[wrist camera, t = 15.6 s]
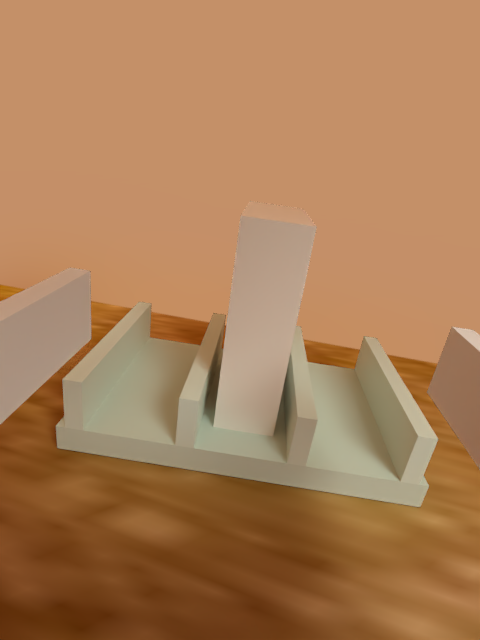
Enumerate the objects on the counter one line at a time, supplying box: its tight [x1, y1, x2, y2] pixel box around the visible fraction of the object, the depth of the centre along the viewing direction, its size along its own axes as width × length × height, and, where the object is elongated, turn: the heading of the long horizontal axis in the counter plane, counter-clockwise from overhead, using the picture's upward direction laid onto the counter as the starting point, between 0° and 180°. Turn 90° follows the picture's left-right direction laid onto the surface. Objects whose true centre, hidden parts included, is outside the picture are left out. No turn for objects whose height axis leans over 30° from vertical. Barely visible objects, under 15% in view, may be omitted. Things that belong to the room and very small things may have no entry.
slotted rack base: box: [56, 302, 438, 507], centre depth 25 cm, size 20×12×4 cm, turn 85°
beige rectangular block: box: [213, 201, 316, 436], centre depth 23 cm, size 4×8×12 cm, turn 175°
